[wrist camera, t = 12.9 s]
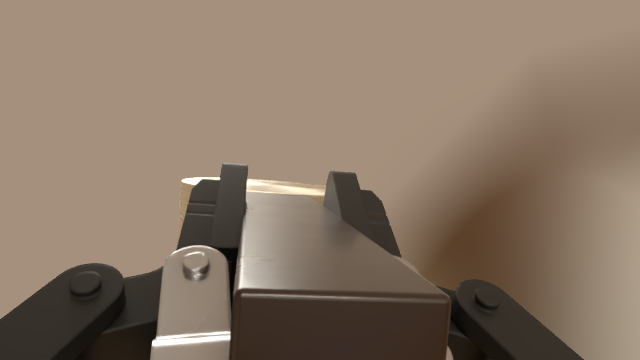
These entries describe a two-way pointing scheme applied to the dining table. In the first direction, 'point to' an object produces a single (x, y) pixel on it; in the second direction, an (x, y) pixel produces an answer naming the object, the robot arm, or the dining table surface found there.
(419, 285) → the milk pan
